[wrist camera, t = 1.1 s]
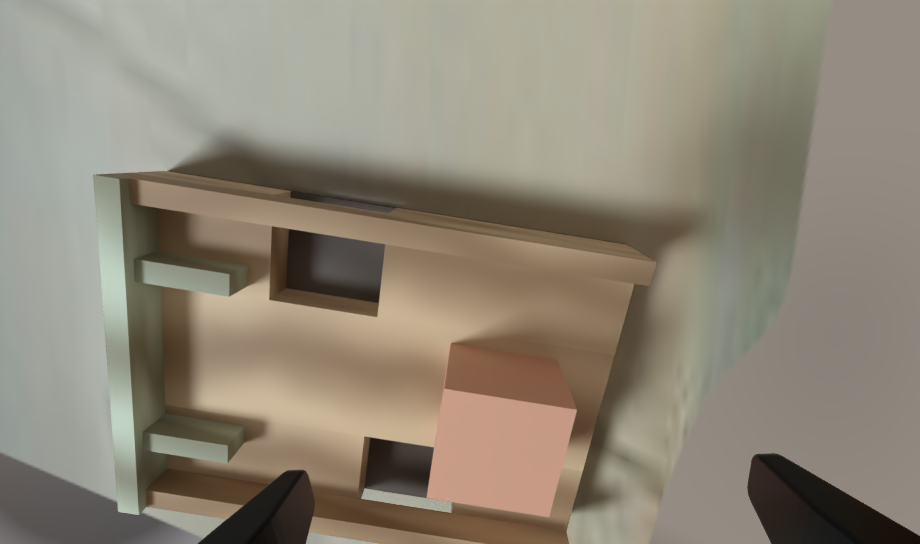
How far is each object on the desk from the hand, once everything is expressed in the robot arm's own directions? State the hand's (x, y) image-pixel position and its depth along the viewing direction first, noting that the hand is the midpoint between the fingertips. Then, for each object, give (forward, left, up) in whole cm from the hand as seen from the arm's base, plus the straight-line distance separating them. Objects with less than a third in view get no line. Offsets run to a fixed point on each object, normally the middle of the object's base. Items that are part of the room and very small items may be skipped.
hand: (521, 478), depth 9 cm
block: (-5, -1, -11) cm, 12 cm away
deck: (-5, +5, -13) cm, 15 cm away
